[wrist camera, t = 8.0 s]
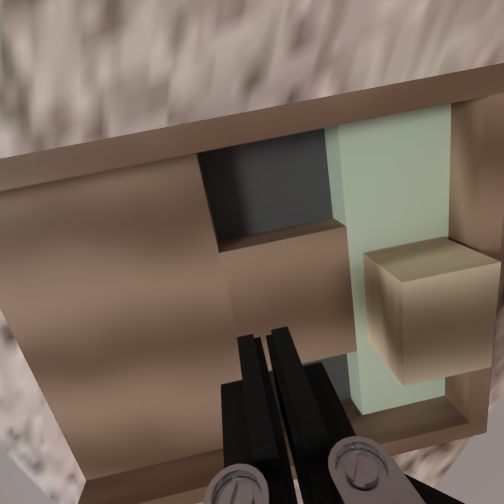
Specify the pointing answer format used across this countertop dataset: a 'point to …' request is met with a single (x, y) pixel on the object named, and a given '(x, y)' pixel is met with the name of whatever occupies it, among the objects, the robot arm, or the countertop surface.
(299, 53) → the countertop surface
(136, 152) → the box
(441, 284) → the maple block
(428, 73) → the countertop surface
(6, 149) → the countertop surface
